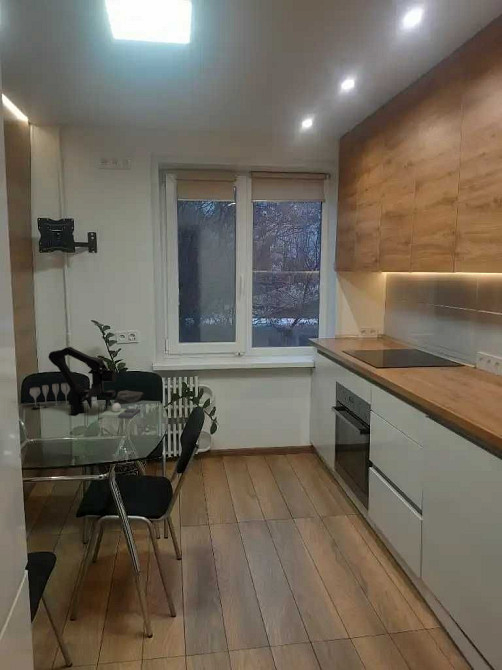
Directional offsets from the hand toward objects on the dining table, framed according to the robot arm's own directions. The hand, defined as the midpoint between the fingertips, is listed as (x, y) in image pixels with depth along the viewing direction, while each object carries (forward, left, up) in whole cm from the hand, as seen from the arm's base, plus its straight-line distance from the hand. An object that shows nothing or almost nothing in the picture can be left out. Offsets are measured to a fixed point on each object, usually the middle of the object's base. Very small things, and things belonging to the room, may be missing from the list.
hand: (98, 408), depth 278 cm
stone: (+11, +21, -3) cm, 24 cm away
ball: (+10, 0, +1) cm, 10 cm away
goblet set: (-33, +15, -3) cm, 37 cm away
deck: (+13, 0, -3) cm, 13 cm away
